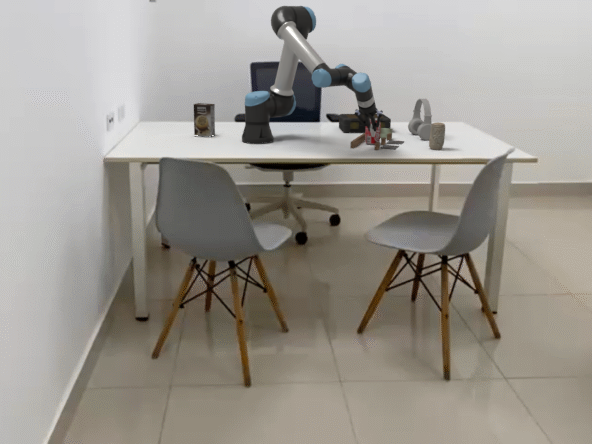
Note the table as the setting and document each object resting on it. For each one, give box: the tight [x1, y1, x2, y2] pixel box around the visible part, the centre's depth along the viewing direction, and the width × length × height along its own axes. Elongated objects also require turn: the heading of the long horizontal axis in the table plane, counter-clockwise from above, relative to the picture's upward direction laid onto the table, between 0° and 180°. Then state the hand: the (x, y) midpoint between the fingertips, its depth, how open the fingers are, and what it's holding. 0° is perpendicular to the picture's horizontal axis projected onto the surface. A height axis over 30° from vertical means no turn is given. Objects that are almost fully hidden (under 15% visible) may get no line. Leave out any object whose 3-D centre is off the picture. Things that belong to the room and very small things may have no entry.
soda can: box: [364, 118, 381, 146], centre depth 315 cm, size 7×7×12 cm
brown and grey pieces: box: [349, 128, 405, 151], centre depth 317 cm, size 20×31×5 cm, turn 160°
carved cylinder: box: [428, 121, 446, 151], centre depth 305 cm, size 6×8×12 cm
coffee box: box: [193, 102, 216, 136], centre depth 332 cm, size 9×6×16 cm
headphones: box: [407, 98, 433, 141], centre depth 334 cm, size 20×8×19 cm, turn 7°
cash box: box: [338, 113, 392, 134], centre depth 355 cm, size 25×20×8 cm
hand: (373, 134), depth 311 cm, fingers closed
